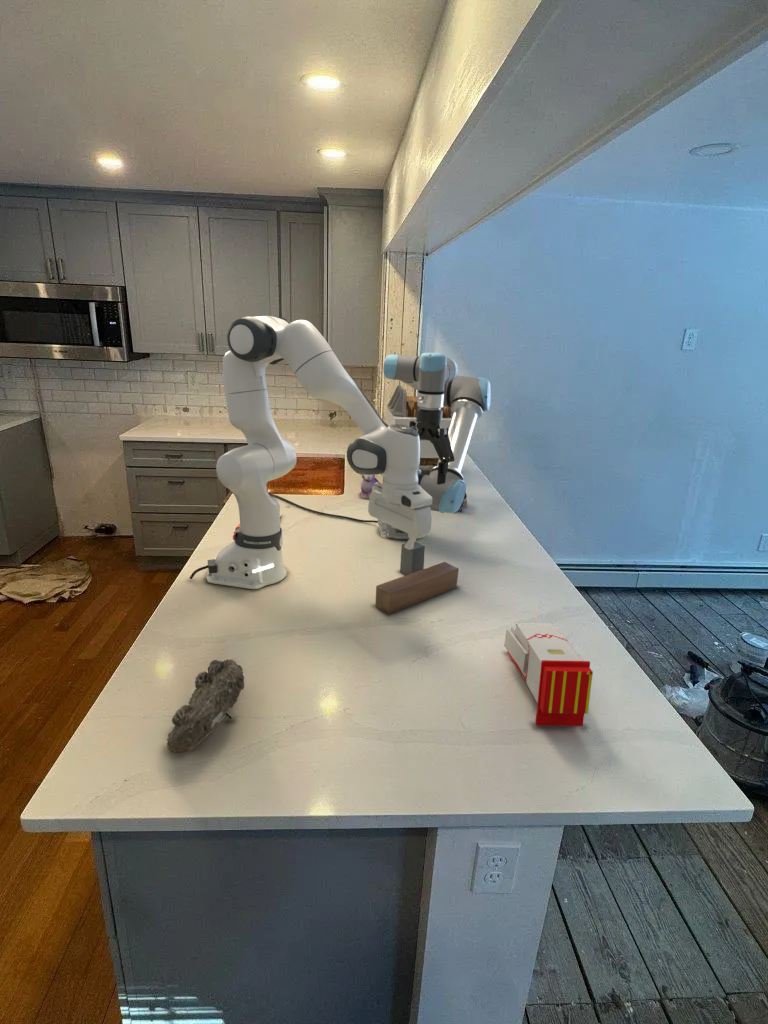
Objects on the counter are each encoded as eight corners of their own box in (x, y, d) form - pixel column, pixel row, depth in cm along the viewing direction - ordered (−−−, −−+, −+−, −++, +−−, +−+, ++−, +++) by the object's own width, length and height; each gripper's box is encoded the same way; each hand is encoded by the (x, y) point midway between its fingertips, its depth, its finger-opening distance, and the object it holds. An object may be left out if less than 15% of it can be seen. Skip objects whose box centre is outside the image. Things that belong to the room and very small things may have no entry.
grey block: (399, 571, 171) (401, 544, 168) (411, 567, 175) (413, 540, 171) (411, 577, 168) (413, 549, 165) (423, 573, 171) (425, 545, 168)
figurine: (365, 500, 232) (366, 464, 227) (354, 493, 241) (355, 458, 236) (385, 497, 237) (387, 463, 231) (374, 490, 245) (375, 457, 240)
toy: (550, 607, 134) (601, 667, 105) (545, 659, 137) (594, 732, 108) (499, 606, 134) (537, 666, 104) (495, 659, 137) (530, 731, 107)
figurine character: (467, 516, 223) (461, 500, 237) (469, 499, 220) (463, 483, 233) (450, 516, 223) (446, 499, 236) (452, 498, 220) (447, 483, 233)
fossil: (192, 660, 117) (244, 628, 112) (224, 691, 120) (276, 661, 115) (142, 746, 98) (202, 712, 93) (182, 779, 101) (242, 748, 96)
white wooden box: (382, 463, 289) (386, 382, 275) (445, 464, 293) (451, 384, 279) (390, 482, 257) (394, 392, 243) (460, 483, 261) (468, 394, 247)
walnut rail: (375, 605, 151) (376, 585, 149) (442, 580, 167) (444, 561, 165) (388, 614, 147) (389, 593, 145) (456, 587, 163) (458, 568, 161)
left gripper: (363, 482, 146) (361, 531, 151) (418, 504, 132) (414, 558, 136) (382, 478, 150) (379, 527, 155) (437, 500, 135) (432, 552, 140)
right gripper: (391, 402, 171) (388, 470, 178) (452, 416, 154) (446, 490, 161) (410, 400, 176) (406, 466, 183) (470, 413, 158) (464, 486, 166)
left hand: (396, 542), depth 145 cm, fingers open, 8 cm apart
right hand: (424, 478), depth 172 cm, fingers open, 13 cm apart
